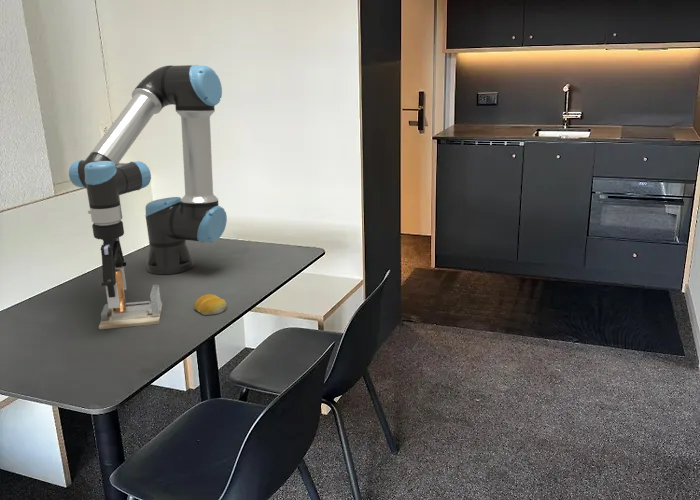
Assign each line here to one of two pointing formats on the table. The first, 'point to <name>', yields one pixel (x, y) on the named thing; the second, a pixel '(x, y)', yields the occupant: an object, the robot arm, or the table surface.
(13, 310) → the table surface
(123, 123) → the robot arm
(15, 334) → the table surface
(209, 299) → the bread roll
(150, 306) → the ram
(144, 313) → the rails
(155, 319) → the board
